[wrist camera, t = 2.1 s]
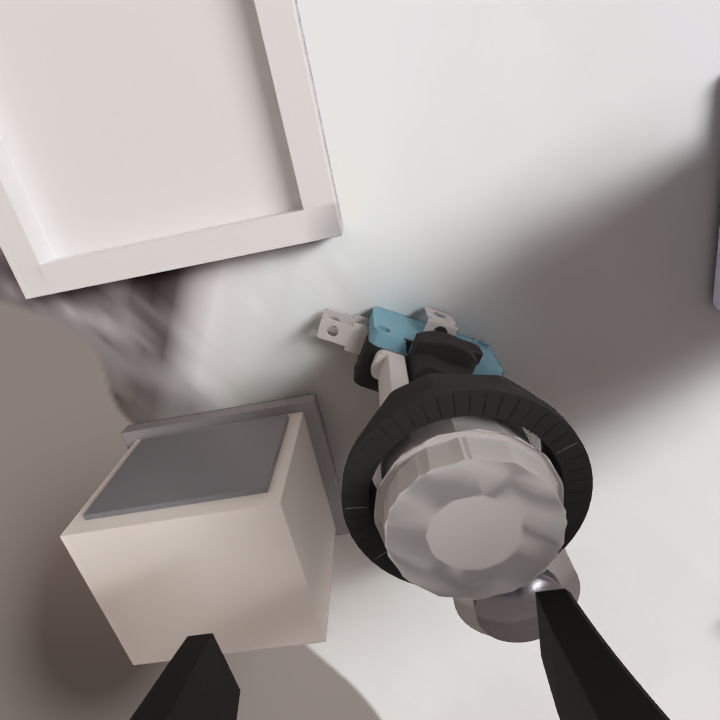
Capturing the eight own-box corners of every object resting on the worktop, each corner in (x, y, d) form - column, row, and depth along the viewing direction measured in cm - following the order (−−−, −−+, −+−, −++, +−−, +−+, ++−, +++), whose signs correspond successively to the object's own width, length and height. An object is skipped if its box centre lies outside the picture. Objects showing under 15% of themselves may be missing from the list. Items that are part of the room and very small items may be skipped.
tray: (232, -307, 12) (214, -365, 11) (343, 228, 17) (341, 235, 16) (-164, -182, 13) (-228, -221, 12) (52, 287, 18) (26, 299, 17)
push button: (303, 371, 19) (243, 576, 10) (346, 242, 17) (320, 352, 8) (458, 421, 20) (534, 652, 11) (517, 304, 18) (671, 466, 9)
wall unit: (314, 393, 20) (293, 489, 14) (349, 523, 22) (342, 647, 17) (127, 425, 20) (38, 528, 15) (182, 547, 23) (124, 674, 18)
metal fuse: (521, 432, 20) (586, 554, 14) (527, 508, 22) (589, 647, 16) (425, 447, 21) (449, 573, 15) (438, 521, 22) (464, 661, 16)
